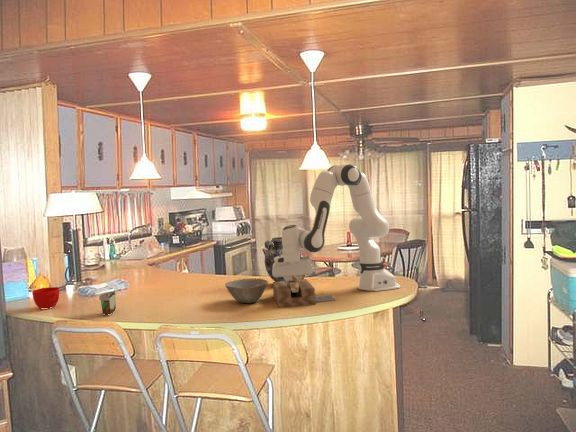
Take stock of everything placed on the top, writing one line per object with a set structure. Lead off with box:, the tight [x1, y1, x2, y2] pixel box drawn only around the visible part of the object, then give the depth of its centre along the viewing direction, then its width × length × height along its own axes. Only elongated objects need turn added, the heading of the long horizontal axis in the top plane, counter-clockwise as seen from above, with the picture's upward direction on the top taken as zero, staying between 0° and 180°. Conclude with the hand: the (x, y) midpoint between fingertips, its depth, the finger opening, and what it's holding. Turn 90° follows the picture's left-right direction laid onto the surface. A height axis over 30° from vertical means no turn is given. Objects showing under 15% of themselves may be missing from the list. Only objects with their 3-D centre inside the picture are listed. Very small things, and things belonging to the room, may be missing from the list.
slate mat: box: [315, 294, 336, 303], centre depth 252 cm, size 10×10×1 cm
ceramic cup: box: [32, 286, 60, 309], centre depth 265 cm, size 13×17×10 cm
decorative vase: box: [264, 236, 285, 282], centre depth 293 cm, size 21×19×28 cm
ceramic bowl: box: [224, 277, 269, 304], centre depth 255 cm, size 22×23×10 cm
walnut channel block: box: [272, 278, 316, 309], centre depth 252 cm, size 18×24×8 cm
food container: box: [98, 290, 117, 315], centre depth 246 cm, size 12×6×10 cm, turn 5°
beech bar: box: [288, 282, 299, 291], centre depth 250 cm, size 4×10×4 cm, turn 7°
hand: (293, 284), depth 251 cm, fingers closed on beech bar, 4 cm apart
